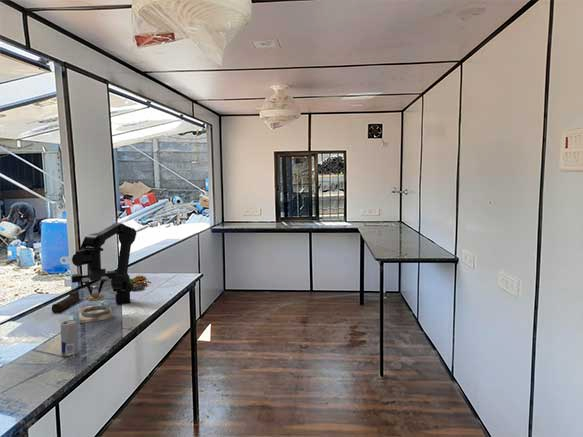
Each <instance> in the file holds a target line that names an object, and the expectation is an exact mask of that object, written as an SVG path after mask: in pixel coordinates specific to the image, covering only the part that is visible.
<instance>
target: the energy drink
mask: <svg viewBox="0 0 583 437" xmlns="http://www.w3.org/2000/svg"><path fill="white" fill-rule="evenodd" d="M78 333H79V331H78V322H77V320H76V319H75V320H74V319H68V320H64V321H62V322H61V324H60V340H61V341H60V342H61V344H60V345H61V346H60V347H61V355H62V357H65V356H69V357H72V356H71V355H73V356H76V355H77V354H79V334H78ZM75 354H76V355H75Z"/></svg>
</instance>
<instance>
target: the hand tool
mask: <svg viewBox="0 0 583 437" xmlns="http://www.w3.org/2000/svg"><path fill="white" fill-rule="evenodd" d="M79 300H80V291H79V290H74V291H72V292H70V293H69V295H68V296H67V297H65V298H63V299H62V300H60V301H58V302H56V303H53V304H52V305H51V312H52V313H53V314H59V313H62V312H63V311H64V310H65V309H66V308H67V307H69V306H70V305H72V304H76V303H77V302H79Z"/></svg>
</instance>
